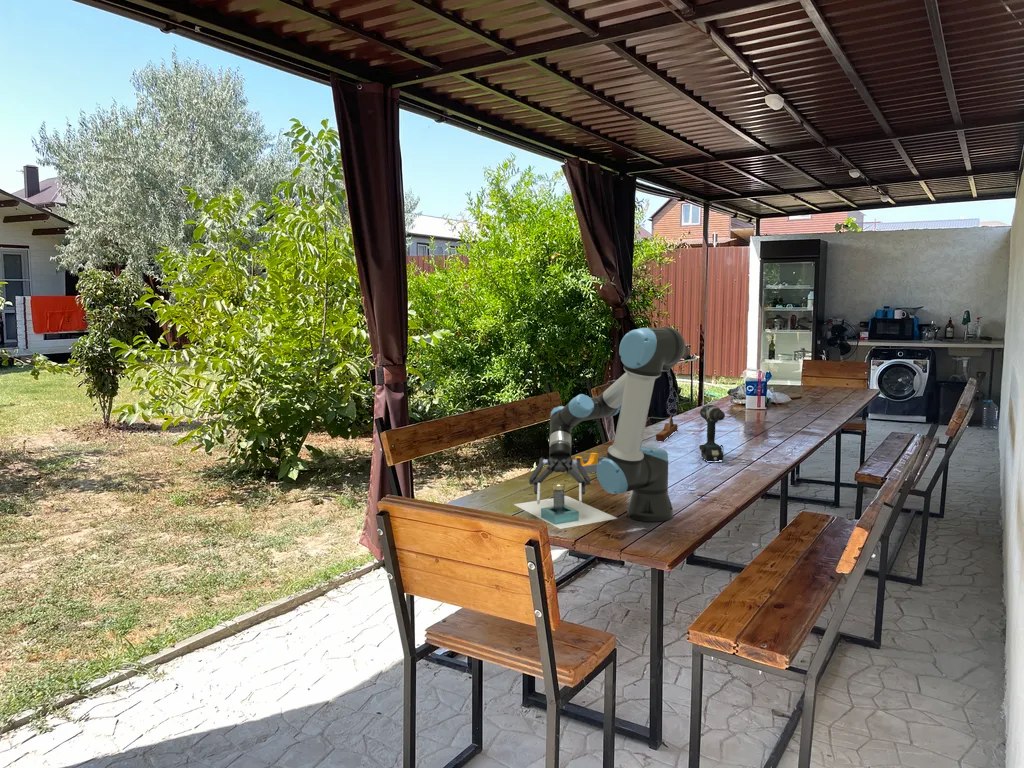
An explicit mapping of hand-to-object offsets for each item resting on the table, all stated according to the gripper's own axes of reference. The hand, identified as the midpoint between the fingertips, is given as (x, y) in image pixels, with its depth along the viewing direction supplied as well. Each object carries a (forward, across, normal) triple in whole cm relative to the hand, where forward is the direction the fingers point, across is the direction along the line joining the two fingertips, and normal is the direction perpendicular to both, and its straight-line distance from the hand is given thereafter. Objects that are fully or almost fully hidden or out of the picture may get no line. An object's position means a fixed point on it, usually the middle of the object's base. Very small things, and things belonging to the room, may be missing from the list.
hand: (559, 502), depth 236 cm
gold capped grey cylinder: (+3, 0, -6) cm, 6 cm away
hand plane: (-103, -51, -114) cm, 162 cm away
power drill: (-60, -65, -70) cm, 113 cm away
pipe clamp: (-48, -10, -58) cm, 76 cm away
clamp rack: (-48, -12, -58) cm, 77 cm away
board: (-2, -1, -12) cm, 13 cm away
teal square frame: (+3, 0, -6) cm, 6 cm away
